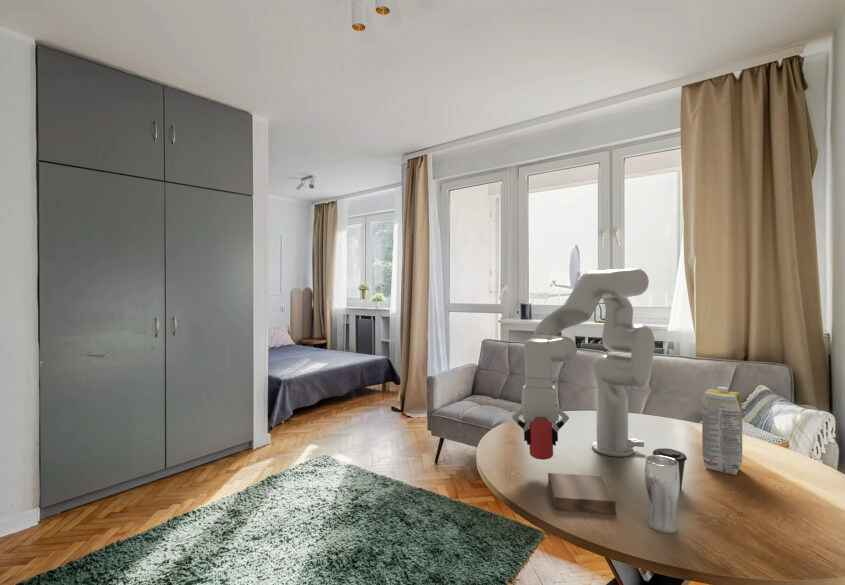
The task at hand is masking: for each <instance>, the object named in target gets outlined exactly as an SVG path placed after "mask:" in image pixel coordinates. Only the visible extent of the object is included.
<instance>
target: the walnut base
mask: <svg viewBox="0 0 845 585" xmlns="http://www.w3.org/2000/svg"><path fill="white" fill-rule="evenodd" d="M547 484H548V489H549V492H550V495H551V499H552V500H551V501H552V503H553V507H554V510H558V511H571V512H583V513H584V512H586V513H600V514H613V515H616V513H617V512H616V509H617V508H616V499H615V498H614V496H613V494H612V493H611V490H610V489H609V487H608V486H607V484H606V481H605V480H604V478H603V477H602V475H590V474H571V473H570V474H569V473H556V472H555V473H554V472H552V473H551V472H547Z"/></svg>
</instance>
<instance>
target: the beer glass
mask: <svg viewBox="0 0 845 585" xmlns="http://www.w3.org/2000/svg"><path fill="white" fill-rule="evenodd" d="M644 482H645V491H646V495H647V499H648V508H649V509H648V516H647V526H649V527H650V528H651V529H652V530H655V531H657V532H659V533H663V534H674V533H677V532H678V531H679V530H678V528H679V526H678V522H677V516H676V515H677V514H676V513H677V512H676V511H677V506H678V501H679V496H680V492H679V490H680V474H679V463H678V461H676V460H675V459H673V458H670V457H666V456H661V455H653V454H651V455H647V456H646V457H645V465H644Z"/></svg>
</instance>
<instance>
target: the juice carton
mask: <svg viewBox="0 0 845 585" xmlns="http://www.w3.org/2000/svg"><path fill="white" fill-rule="evenodd" d="M728 390H729V388H728V387H725V386H723V387H722V386H717V389H712V388H708V389H707V390H705V392H704V393H703V398H702V402H701V404H702V407H701V408H702V409H701V410H702V411H701V413H702V414H701V415H702V419H701V420H702V423H701V426H702V427H701V429H702V431H701V432H702V434H701V435H702V436H701V438H702V440H701V442H702V444H701V445H702V446H701V447H702V459H703V464H704V466H705V468H706V469H708V470H712V471H717V472H720V473H725V474H729V475H733V476H736V475H737V473H738V472H739V469H740V467H741V465H742V462H743V403H742V398H741V394H740V393H739V391H738V392H735V391H728Z"/></svg>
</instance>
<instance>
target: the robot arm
mask: <svg viewBox="0 0 845 585" xmlns="http://www.w3.org/2000/svg"><path fill="white" fill-rule="evenodd" d="M649 282H650V281H649V276H648V274H647V273H646V272H645V271H644V270H643V269H641V268H624V269H623V268H622V269H619V268H618V269H617V268H615V269H605V270H591V271H587V272H584V273H583V274H582V275H581V276H580V278H579V280H578V281H577V283H576V285H575V286H574V288H573V290H572V291H571V293H570V294H569V296H568V298H567V299H566V301H565V303H564V304H562V305H561V306H560V307H559V308H557V309H555V310H554V311H552V312H551V313H549V315H547V316H545V317H544V318H543V319H542V320H541V321H540V322H539V323H538V325H537V326H536V328H535V330H534V332H533V334H531V337H530V338H529V339H527V340H525V341H524V345H523V346H524V347H523V348H524V374H525V378H524V379H525V380H524V381H525V384H523V386H522V390H521V407H520V408H519V409H517V410H516V411H515V412H514V413H513V414H512V415H511V416H512V417H511V418H512V420H513V421H514V422H515V423H517V425H518V426H519V427H520V428H521V429H522V431H523V440H524V442H526V445H528V446H529V444H530V433H529V425H530V422H533V421H534V419H535V417H538V418H544V417H547V420H548V421H549V422H551V424H552V434H553V446H556V445H557V442H559V431H560V429H561V428H563V426H564V425H565V424H566V423H567V422H568V421H569V420H570V417H569V415H568V414H566V413H565V412H564V411H563V410H562V409H561V408H559V402H558V401H559V400H558V394H557V389H556V387H555V385H554V384H556V383H559V380H558V379H559V378H558V377H554V376H553V364H554V363H567V362H568V363H569V362H570V361H572V360H573V359H574V358H575V357H576V355H577V353H578V347H577V343H575V341H574V340H573V339H572V338H569V337H568V336H563V335H557V334H559V332H562V331H563V330H566V329H567V328H570V327H575V326H577V325H580V324H583V323H585V322H587V321H589V320H590V318H591V317H592V315H593V313H594V312H595V310H596V308H597V306H598V304H599V303H600V301H601V299H602V300H603V303H604V306H605V307H604V308H605V314H604V315H605V316H604V321H603V328H602V336H601V338H602V339H601V342H602V345H603V347H604V348H605V349H606V350H609V351H613V352H618V353H624V354H625V353H626V354H630V355H631V356H630V357H629V356H623V355H617V354H602V355H599V356H597V357H596V358H595V360H594V361H593V364H592V371H593V377H594V382H595V390H596V440H594V441H593V442H592V444H591V448H592V449H593V450H594V452H596V453H599V454H601V455H603V456H604V455H605V456H609V457H616V458H617V457H618V458H621V457H629V456H631V455H633V454H634V448H635V447H638V448H644V447H645V443H644V440H638V439H637V438H630V437H629V409H628V408H629V406H628V405H629V400H628V395H627V392H626V390H625V388H629V389H636V390H642V389H644V388H646V387H647V386H648V385H649V383H650V379H651V377H652V376H651V375H652V369H653V360H654V352H655V342H656V341H655V336H654V332H653V330H652V329H651V328H650V327H649V326H647V325H644V324H640V323H639V324H638V323H637V324H636V323H633V318H634V317H633V316H634V307H633V305H632V303H631V301H630V300H629V298H630V297H636V296H641V295H643V294H644V293H645V292H646V291H647V289H648V287H649ZM521 415H522V419H520V416H521ZM559 417H561V418H560V420H559ZM522 420H523V421H522Z"/></svg>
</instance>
